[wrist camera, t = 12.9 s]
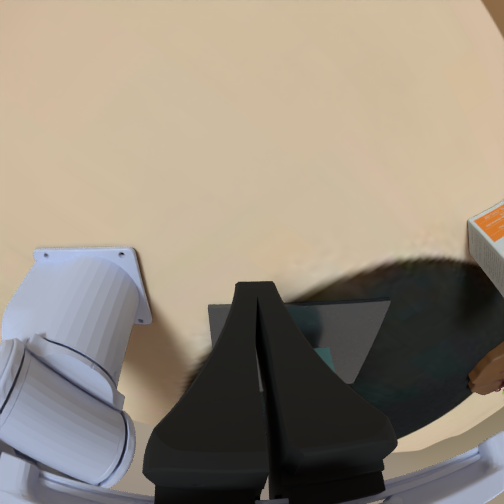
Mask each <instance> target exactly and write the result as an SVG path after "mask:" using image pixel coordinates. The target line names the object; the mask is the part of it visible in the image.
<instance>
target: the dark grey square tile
mask: <svg viewBox="0 0 504 504" xmlns="http://www.w3.org/2000/svg"><path fill="white" fill-rule="evenodd" d="M390 302H391V299H390V298H378V299H363V300H347V301H328V302H306V303H284V305H285V307H286V308H287V310H288V312H289V314H290V315H291V317H292V318H293V320H294V322H295V323H296V325H297V326H298V328H299V329H300V331H301V332H302V334H303V335H304V337H305V338H306V339H307V341H308V342H309V343H310V345H311V346H312V347H313V349H314V348H327V347H329V350H330V354H331V358H332V362H333V366H334V369H335V373H336V374H337V375H338V376H339V377H340V378H341V379H342V380H343V381H344V382H345V383H346V384H351V383H353V382H354V381H355V379H356V377H357V375H358V373H359V371H360V369H361V367H362V365H363V363H364V361H365V359H366V356H367V354H368V352H369V350H370V348H371V346H372V344H373V342H374V339H375V337H376V335H377V333H378V331H379V328H380V326H381V324H382V321H383V319H384V317H385V314H386V312H387V310H388V307H389V305H390ZM231 305H232V304H227V305H208V313H209V322H210V331H211V340H212V348H214V346H215V344H216V342H217V340H218V338H219V335H220V333H221V331H222V329H223V327H224V324H225V322H226V319H227V316H228V314H229V311H230V308H231ZM256 358H257V352H256ZM257 368H258V378H259V387H260V391H263V389H262V383H261V377H260V371H259V365H258V359H257Z"/></svg>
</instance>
